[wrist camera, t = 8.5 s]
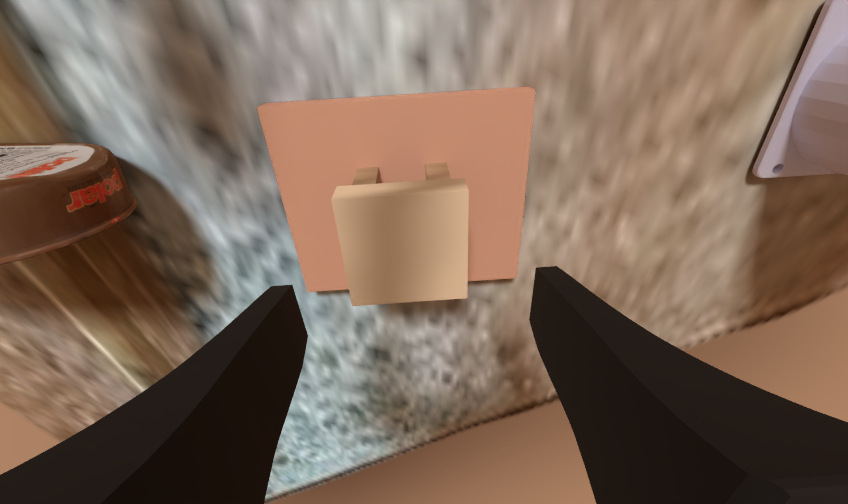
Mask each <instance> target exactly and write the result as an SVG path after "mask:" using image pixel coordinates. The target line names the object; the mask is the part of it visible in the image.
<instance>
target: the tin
mask: <svg viewBox="0 0 848 504" xmlns="http://www.w3.org/2000/svg"><path fill="white" fill-rule="evenodd" d="M136 206H137V201H136V199H135V197H134V196H133V195H132V194H131V192H130V190H129V187H128V185H127V182H126V180H125V177H124V175H123V172H122V170H121V168H120V165H119V163H118V161H117V159H116V158H115V156H114V155H113V153H112V152H111V151H110V150H108V149H107V148H105V147H103V146H99V145H95V144H87V143H5V144H0V265H1V264H6V263H10V262H14V261H19V260H22V259H25V258H29V257H33V256H36V255H40V254H43V253H46V252H49V251H52V250H55V249H58V248H62V247H65V246H68V245H70V244H73V243H75V242H78V241H80V240H83V239H85V238H88V237H90V236H93V235H94V234H97V233H99V232H101V231H104V230H106V229H109V228H110V227H112V226H114V225H115V224H117V223H119V222H121V221H122V220H124V219H125V218H127V217H128V216H129V215H130V214H131V213H132V212H133V211H134V210H135V208H136Z"/></svg>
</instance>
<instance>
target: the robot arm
mask: <svg viewBox="0 0 848 504" xmlns="http://www.w3.org/2000/svg"><path fill="white" fill-rule="evenodd" d="M776 165H777V166H776ZM775 166H776V167H775ZM774 167H775V168H774ZM773 168H774V169H773ZM752 172H753V174H754V175H755V176H757V177H759V178H776V177H792V176H807V175H822V174H838V173H841V174H843V175H846V176H848V0H826V2H825V4H824V6H823V8H822V10H821V13H820V15H819V17H818V19H817V22H816V24H815V26H814V29H813V31H812V33H811V36H810V38H809V40H808V42H807V45H806V47H805V49H804V52H803V54H802V56H801V59H800V61H799V63H798V65H797V68H796V70H795V72H794V75H793V77H792V79H791V82H790V84H789V86H788V88H787V91H786V93H785V95H784V98H783V100H782V102H781V104H780V107H779V109H778V111H777V114H776V116H775V118H774V121H773V123H772V125H771V127H770V130H769V132H768V134H767V137H766V139H765V141H764V144H763V146H762V148H761V150H760V153H759V155H758V157H757V160H756V162H755V164H754V167H753V170H752ZM529 320H530V324H531V327H532V331H533V335H534V338H535V341H536V345H537V348H538V351H539V353H540V356H541V358H542V360H543V362H544V365H545V367H546V369H547V372H548V374H549V376H550V379H551V381H552V383H553V385H554V388H555V390H556V392H557V394H558V397H559V399H560V401H561V403H562V406H563V408H564V410H565V412H566V415H567V417H568V419H569V422H570V424H571V427H572V429H573V432H574V434H575V438H576V441H577V443H578V447H579V450H580V452H581V456H582V459H583V462H584V465H585V468H586V471H587V474H588V477H589V481H590V484H591V487H592V490H593V494H594V497H595V500H596V503H597V504H848V422H845V421H842V420H839V419H837V418H834V417H831V416H828V415H826V414H823V413H820V412H817V411H814V410H812V409H809V408H807V407H804V406H802V405H799V404H797V403H794V402H792V401H789V400H787V399H785V398H782V397H780V396H777V395H775V394H772V393H770V392H767V391H765V390H763V389H760V388H758V387H756V386H753V385H751V384H749V383H747V382H745V381H742V380H740V379H738V378H736V377H734V376H732V375H730V374H727V373H725V372H723V371H721V370H719V369H717V368H715V367H713V366H711V365H708V364H707V363H705V362H703V361H701V360H699V359H697V358H695V357H693V356H691V355H689V354H687V353H686V352H684V351H682V350H680V349H678V348H677V347H675V346H673V345H671V344H669V343H668V342H666V341H664V340H662V339H661V338H659V337H657V336H656V335H654V334H652V333H651V332H649V331H647V330H646V329H644V328H643V327H641V326H640V325H638V324H637V323H635V322H633V321H632V320H630V319H629V318H627V317H626V316H624V315H623V314H621V313H620V312H618V311H617V310H616V309H614V308H613V307H611V306H610V305H608V304H607V303H606V302H604V301H603V300H601V299H600V298H599V297H597V296H596V295H595V294H593V293H592V292H591V291H589V290H588V289H587V288H585V287H584V286H583V285H581V284H580V283H579V282H577V281H576V280H575V279H573V278H572V277H571V276H569V275H568V274H567V273H565V272H564V271H563V270H561V269H560V268H558V267H557V266H554V267H540V268H536V272H535V280H534V288H533V296H532V304H531V312H530V319H529ZM307 338H308V335H307V331H306V328H305V325H304V322H303V318H302V315H301V312H300V309H299V305H298V302H297V299H296V296H295V292H294V289H293V286H292V285H283V286H271V287H270V288H269V289H268V290H266V291H265V292H264V293H263V294H262V295H261V296H260V297H259V298H257V299H256V300H255V301H254V302H253V303H252V304H251V305H250V306H249V307H248V308H246V309H245V310H244V311H243V312H242V313H241V314H240V315H239V316H238V317H237V318H235V319H234V320H233V321H232V322H231V323H230V324H229V325H228V326H226V327H225V328H224V329H223V330H222V331H221V332H220V333H219V334H217V335H216V336H215V337H214V338H213V339H211V340H210V341H209V342H208V343H207V344H205V345H204V346H203V347H202V348H201V349H199V350H198V351H197V352H196V353H195V354H193V355H192V356H191V357H190V358H188V359H187V360H186V361H185V362H183V363H182V364H181V365H180V366H178V367H177V368H176V369H174V370H173V371H172V372H170V373H169V374H168V375H166V376H165V377H163V378H162V379H161V380H159V381H158V382H156V383H155V384H154V385H152V386H151V387H149V388H148V389H147V390H145V391H144V392H142V393H141V394H139V395H138V396H136V397H135V398H133V399H131V400H130V401H128V402H127V403H125V404H124V405H122V406H120V407H119V408H117V409H116V410H114V411H113V412H111V413H109V414H108V415H106V416H105V417H103V418H102V419H100V420H98V421H97V422H95V423H94V424H92V425H90V426H89V427H87V428H85V429H84V430H82V431H80V432H78V433H77V434H75V435H73V436H71V437H70V438H68V439H66V440H65V441H63V442H61V443H59V444H57V445H56V446H54V447H52V448H50V449H48V450H47V451H45V452H43V453H41V454H39V455H38V456H36V457H34V458H32V459H30V460H28V461H26V462H24V463H23V464H21V465H19V466H17V467H15V468H13V469H11V470H9V471H7V472H5V473H3V474H1V475H0V504H264V500H265V495H266V491H267V486H268V481H269V477H270V472H271V468H272V463H273V459H274V455H275V451H276V448H277V444H278V440H279V437H280V434H281V431H282V428H283V425H284V422H285V419H286V416H287V413H288V410H289V407H290V404H291V401H292V397H293V394H294V391H295V388H296V385H297V382H298V379H299V376H300V372H301V369H302V365H303V360H304V355H305V350H306V344H307Z"/></svg>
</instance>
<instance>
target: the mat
mask: <svg viewBox="0 0 848 504" xmlns="http://www.w3.org/2000/svg"><path fill="white" fill-rule="evenodd" d="M535 92H536V90H534V89H532V88H530V87H519V88H503V89H487V90H470V91H454V92H438V93H422V94H406V95H390V96H374V97H358V98H342V99H325V100H309V101H293V102H277V103H264V104H262V105H261V106H259V107H257V110H258V114H259V118H260V121H261V125H262V128H263V132H264V136H265V139H266V143H267V147H268V150H269V154H270V157H271V161H272V165H273V168H274V172H275V176H276V179H277V183H278V186H279V190H280V194H281V197H282V201H283V205H284V208H285V212H286V215H287V219H288V223H289V226H290V230H291V234H292V237H293V241H294V244H295V248H296V252H297V255H298V259H299V263H300V266H301V270H302V273H303V277H304V281H305V284H306V288H307V292H315V291H330V290H345V289H349V287H348V282H347V277H346V272H345V267H344V262H343V257H342V252H341V247H340V242H339V237H338V232H337V227H336V222H335V217H334V212H333V207H332V202H331V199H332V196H333V194H334V192H335V189H336V187H337V186H348V185H352V183H353V180H354V177H355V174H356V171H357V168H365V167H379V174H380V183H394V182H410V181H425V180H426V171H425V164H428V163H444V162H446V163H447V166H448V170H449V173H450V177H451V179H457V178H464V180H465V182H466V185H467V187H468V190H469V210H468V280H467V281H479V280H494V279H509V278H517V270H518V260H519V250H520V240H521V230H522V220H523V210H524V201H525V191H526V181H527V171H528V161H529V151H530V141H531V132H532V122H533V112H534V102H535Z"/></svg>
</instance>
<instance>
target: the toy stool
mask: <svg viewBox="0 0 848 504" xmlns="http://www.w3.org/2000/svg"><path fill="white" fill-rule="evenodd" d="M425 171H426V180H425V181H410V182H394V183H380V174H379V167H365V168H357V171H356V174H355V177H354V180H353V183H352V185H348V186H337V187H336V189H335V192H334V194H333V196H332V199H331V202H332V207H333V212H334V217H335V222H336V227H337V232H338V237H339V242H340V247H341V252H342V257H343V262H344V267H345V272H346V277H347V282H348V287H349V292H350V297H351V302H352V306H360V305H374V304H389V303H404V302H419V301H433V300H448V299H463V298H467V280H468V210H469V190H468V187H467V185H466V182H465V180H464V178H457V179H451V177H450V173H449V170H448V166H447V163H446V162H444V163H428V164H425Z"/></svg>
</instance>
